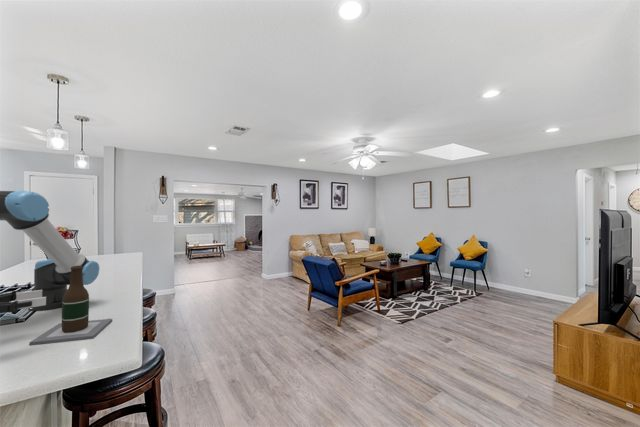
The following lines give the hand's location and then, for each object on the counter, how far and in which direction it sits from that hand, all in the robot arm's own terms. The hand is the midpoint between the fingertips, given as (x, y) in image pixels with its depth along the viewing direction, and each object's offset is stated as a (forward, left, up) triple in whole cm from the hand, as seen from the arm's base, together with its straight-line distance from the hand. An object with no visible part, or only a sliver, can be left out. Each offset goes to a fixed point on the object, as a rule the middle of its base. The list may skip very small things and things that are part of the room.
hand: (44, 297), depth 99 cm
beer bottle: (-4, +8, -14) cm, 17 cm away
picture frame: (-4, +8, -15) cm, 17 cm away
